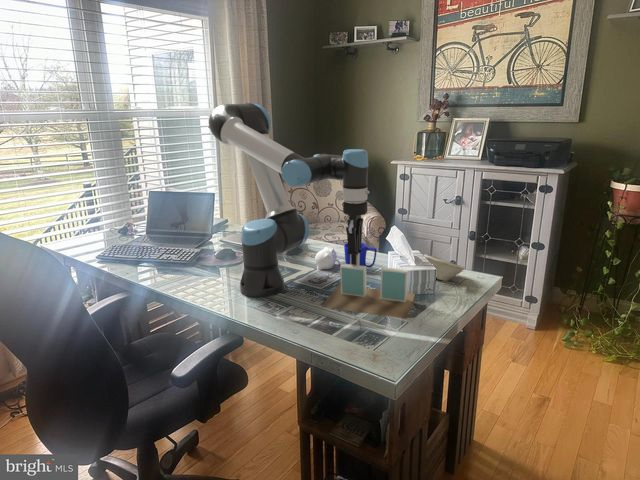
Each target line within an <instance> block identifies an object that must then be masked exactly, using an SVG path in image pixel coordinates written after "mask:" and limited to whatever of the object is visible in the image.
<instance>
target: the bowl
mask: <svg viewBox="0 0 640 480" xmlns="http://www.w3.org/2000/svg"><path fill="white" fill-rule="evenodd" d="M422 255H423V256H424V257H425V258H426V259H427V260H428V261H429V262H430V263H431V264H433V266H434V267H435V268H436V269H437V280H441V281H444V282H448V281H450V280H451V279H452V278H453V277H455V276H457V275H459V274H460V273H462V272H463V271H465V267H464V266H461V265H457V264H455V263H452V262H450V261H446V260H443V259H440V258H439V257H437V256H436V255H435V256H434V255H431V254H428V253H425V254H422ZM424 257H423V258H424Z"/></svg>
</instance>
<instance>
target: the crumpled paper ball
mask: <svg viewBox="0 0 640 480" xmlns="http://www.w3.org/2000/svg"><path fill="white" fill-rule="evenodd" d="M337 257H338V254H337V252H336V250H335V248H334V247H328V246H325V247H324V248H323V249H321V250H319V251H318V252H317V253H316V254H315V257H314V264H315V265H316V270H318V271H319V270H328V269H333V268H334V266H335V265H336V263H337V264H338V265H340V266H341V264H343V263H341V261H340V260H339V259H338V258H337Z"/></svg>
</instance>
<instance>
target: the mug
mask: <svg viewBox="0 0 640 480" xmlns="http://www.w3.org/2000/svg"><path fill="white" fill-rule="evenodd" d="M343 248H344V249H343V250H344V260H345V263H344V264H350V254H347V253H348V242H346V243H345V244H344V245H343ZM360 250H362V253H361V252H358V253H360V256H359V265H360V266H366V268H372V267H373V266H374V265H375V264H376V258H377V251H378V250H377V248H376V247H371V246H370V247H367V244H365V243H364V242H361V249H360ZM368 251H374V256H373V261H372V263H371V264H370V265H368V264H367V252H368Z"/></svg>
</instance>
